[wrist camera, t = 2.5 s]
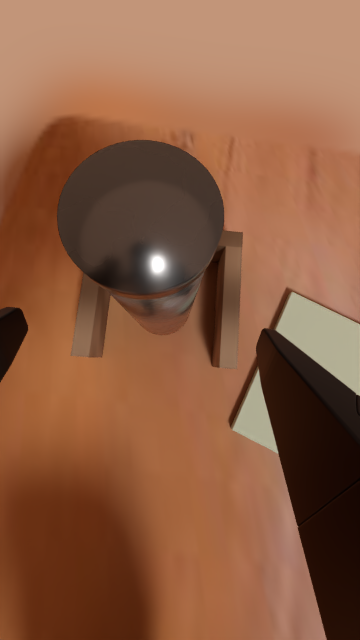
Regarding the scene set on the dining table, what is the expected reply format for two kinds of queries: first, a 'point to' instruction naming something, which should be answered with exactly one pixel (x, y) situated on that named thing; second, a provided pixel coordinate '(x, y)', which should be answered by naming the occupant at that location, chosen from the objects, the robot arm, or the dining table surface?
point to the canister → (143, 228)
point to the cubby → (226, 312)
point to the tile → (318, 343)
